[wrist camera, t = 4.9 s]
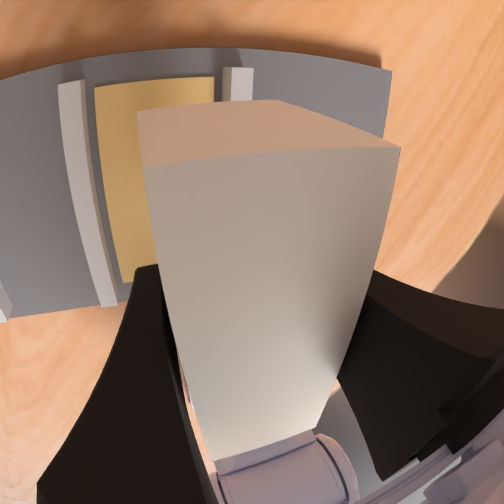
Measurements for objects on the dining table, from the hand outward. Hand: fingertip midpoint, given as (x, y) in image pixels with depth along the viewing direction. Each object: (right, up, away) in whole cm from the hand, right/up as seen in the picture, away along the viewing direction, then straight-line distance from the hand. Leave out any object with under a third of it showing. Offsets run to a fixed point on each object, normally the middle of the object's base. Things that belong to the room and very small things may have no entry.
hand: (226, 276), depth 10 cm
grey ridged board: (-4, +5, +7) cm, 9 cm away
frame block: (0, +1, +1) cm, 1 cm away
